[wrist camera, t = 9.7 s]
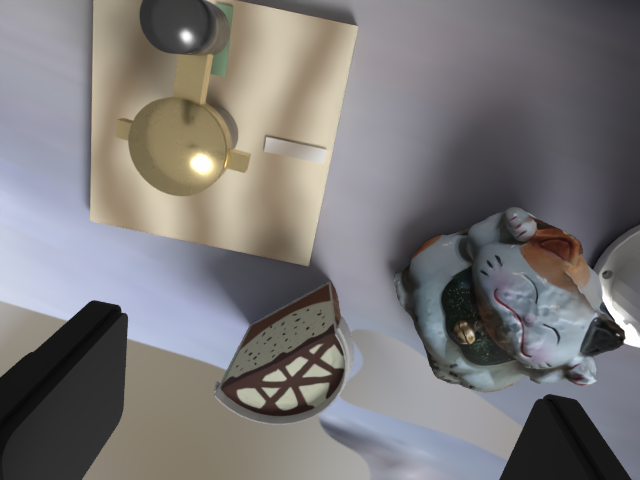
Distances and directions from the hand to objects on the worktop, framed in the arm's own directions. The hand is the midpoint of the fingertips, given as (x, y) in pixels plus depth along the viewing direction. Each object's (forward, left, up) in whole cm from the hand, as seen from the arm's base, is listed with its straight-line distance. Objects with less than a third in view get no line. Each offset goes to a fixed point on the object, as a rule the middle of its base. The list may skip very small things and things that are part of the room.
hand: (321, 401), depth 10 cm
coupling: (+11, -3, -23) cm, 26 cm away
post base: (+11, 0, -30) cm, 32 cm away
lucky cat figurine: (-14, +8, -31) cm, 35 cm away
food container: (0, +17, -31) cm, 35 cm away
